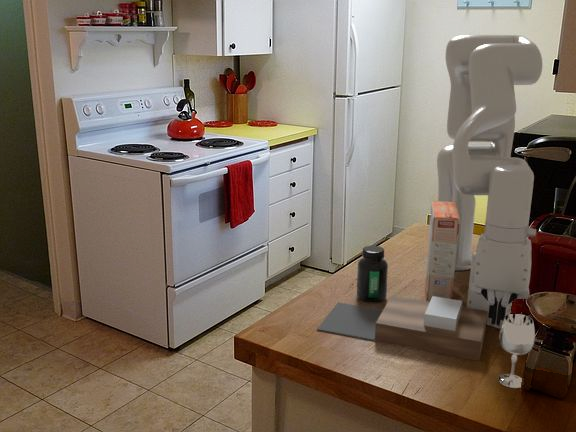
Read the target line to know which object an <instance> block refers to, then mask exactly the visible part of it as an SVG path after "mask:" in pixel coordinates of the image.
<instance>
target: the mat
mask: <svg viewBox="0 0 576 432" xmlns="http://www.w3.org/2000/svg"><path fill="white" fill-rule="evenodd" d="M383 310H384V309H380V308H375V307H370V306H369V307H368V306H362V305H357V304H350V303H345V302H339V301H338V302H337V303H336V304H335V305H334V306H333V308H332V309H331V311H329V313H328V314H327V315H326V317H325V318H324V320H323V321H322V322H321V323H320V324H319V326H318V327H317V328H316V330H317V331H320V332H323V333H325V332H326V333H330V334H336V335H340V336H346V337H351V338H356V339H361V340H365V341H366V340H367V341H374V342H375V326H376V322H377V320H378V318H379V316H380V315H381V313H382V311H383Z"/></svg>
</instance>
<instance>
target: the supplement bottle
mask: <svg viewBox="0 0 576 432" xmlns="http://www.w3.org/2000/svg"><path fill="white" fill-rule="evenodd" d="M361 254H362V255H361V256H362V257H361V258H360V259H359V260H358V262H357V271H356V272H357V277H356V297H357V299H358V300H359V301H361V302H363V303H366V304H379V303H382V302H384V301H385V300H386V299H387V291H388V274H389V272H388V271H389V264H388V262H387V260H386V259H385V249H384V248H383V247H382V246H378V245H366V246H364V247H363V248H362V253H361Z"/></svg>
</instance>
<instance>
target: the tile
mask: <svg viewBox="0 0 576 432" xmlns="http://www.w3.org/2000/svg"><path fill="white" fill-rule="evenodd" d="M462 307H463V300H461V299H453V298H452V299H448V298H441V297H435V296H432V298H431V301H430V303H429V305H428V307H427V310H426V312H425V316H424V326H429V327H435V328H441V329H446V330H452V331H455V330H456V327H457V324H458V321H459V317H460V314H461V309H462Z"/></svg>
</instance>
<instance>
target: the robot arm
mask: <svg viewBox="0 0 576 432" xmlns="http://www.w3.org/2000/svg"><path fill="white" fill-rule="evenodd" d="M445 48H446V49H445V64H446V69H447V72H448V77H449V81H450V93H449V101H448V108H447V109H448V110H447V121H446V123H447V124H446V132H447V135H448V137H449V138H450V139H452V140H453V144H450V145H447V146H444V147H443V148H441V149H440V150H439V152H438V154H437V157H436V166H437V168H436V169H437V182H438V183H437V184H438V186H437V187H438V191H437V201H439V202H454V203H456V206H457V211H458V215H459V219H460V221H459V231H458V240H457V251H456V261H455V271H467V270H471V260H472V246H473V233H474V226H475V225H474V224H475V213H476V203H477V202H476V196H487V204H486V212H485V213H486V215H485V221H484V231H483V232H484V233H481V234H480V235H479V239H478V242H477V247H476V251H475V252H476V255H475V261H474V268H473V279H472V284H471V286H470V289H471V290H472V291H474V292H477V293H480V294H482V295H483V296H484V298H485V299H486V300H487V301H488V303H489V304H490V305H489V315H488V318H492V321H491V324H492V325H494V324H495V322H496V325H498V326H500V322H501V320H504V318H505V312H506V307H507V306H508V304H510V303H511V302H513V301H514V300H516V299H523V300H524V299H525V300H527V298H528V297H529V298H530V288H529V286H530V281H531V271H532V242H531V241H532V240H531V239H529V237H536V236H537V229H536V228H533V227H531V226H530V225H529V223H530V222H529V221H530V216H531V215H530V214H531V209H532V208H531V205H532V198H533V189H534V180H535V175H534V172H533V170H532V169H531V167H530V166H529V164H528V162H527V161H526V160H525V159H523V158H520V157H515V156H514V157H512V154H511V153H512V149H513V142H514V136H515V129H516V115H515V114H516V112H517V101H516V93H515V86H533V85H535V84H536V83H537V82H538V81H539V80H540V77H541V76H542V71H543V57H542V53H541V51H540V49H539V47H538V46H537V45H536V43H534V42H533V41H532V40H530V39H528V38H527V37H525V36H523V35H517V34H515V35H514V34H513V35H511V34H496V35H495V34H464V35H457V36H455V37H452V38H451V39H449V41H448V42H447V44H446V47H445ZM469 142H471V143H472V142H475V143H476V142H477V143H478V142H479V143H491V144H469ZM495 291H501V292H504V293H503V297H502V298H501V299H500V302H499V304H498V301H497V298H496V293H495ZM529 298H528V299H529ZM497 307H498V311H497ZM496 316H497V320H496Z"/></svg>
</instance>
